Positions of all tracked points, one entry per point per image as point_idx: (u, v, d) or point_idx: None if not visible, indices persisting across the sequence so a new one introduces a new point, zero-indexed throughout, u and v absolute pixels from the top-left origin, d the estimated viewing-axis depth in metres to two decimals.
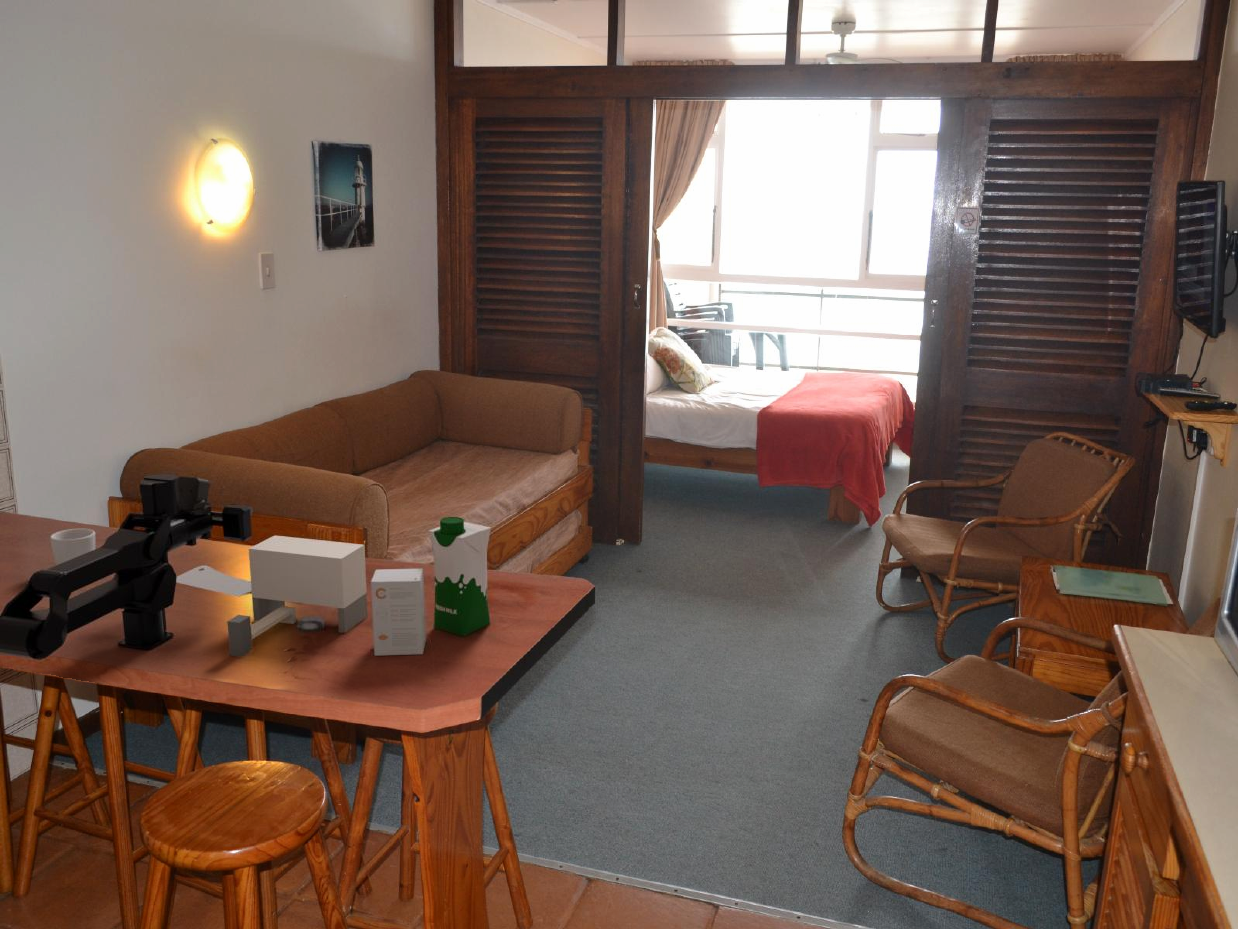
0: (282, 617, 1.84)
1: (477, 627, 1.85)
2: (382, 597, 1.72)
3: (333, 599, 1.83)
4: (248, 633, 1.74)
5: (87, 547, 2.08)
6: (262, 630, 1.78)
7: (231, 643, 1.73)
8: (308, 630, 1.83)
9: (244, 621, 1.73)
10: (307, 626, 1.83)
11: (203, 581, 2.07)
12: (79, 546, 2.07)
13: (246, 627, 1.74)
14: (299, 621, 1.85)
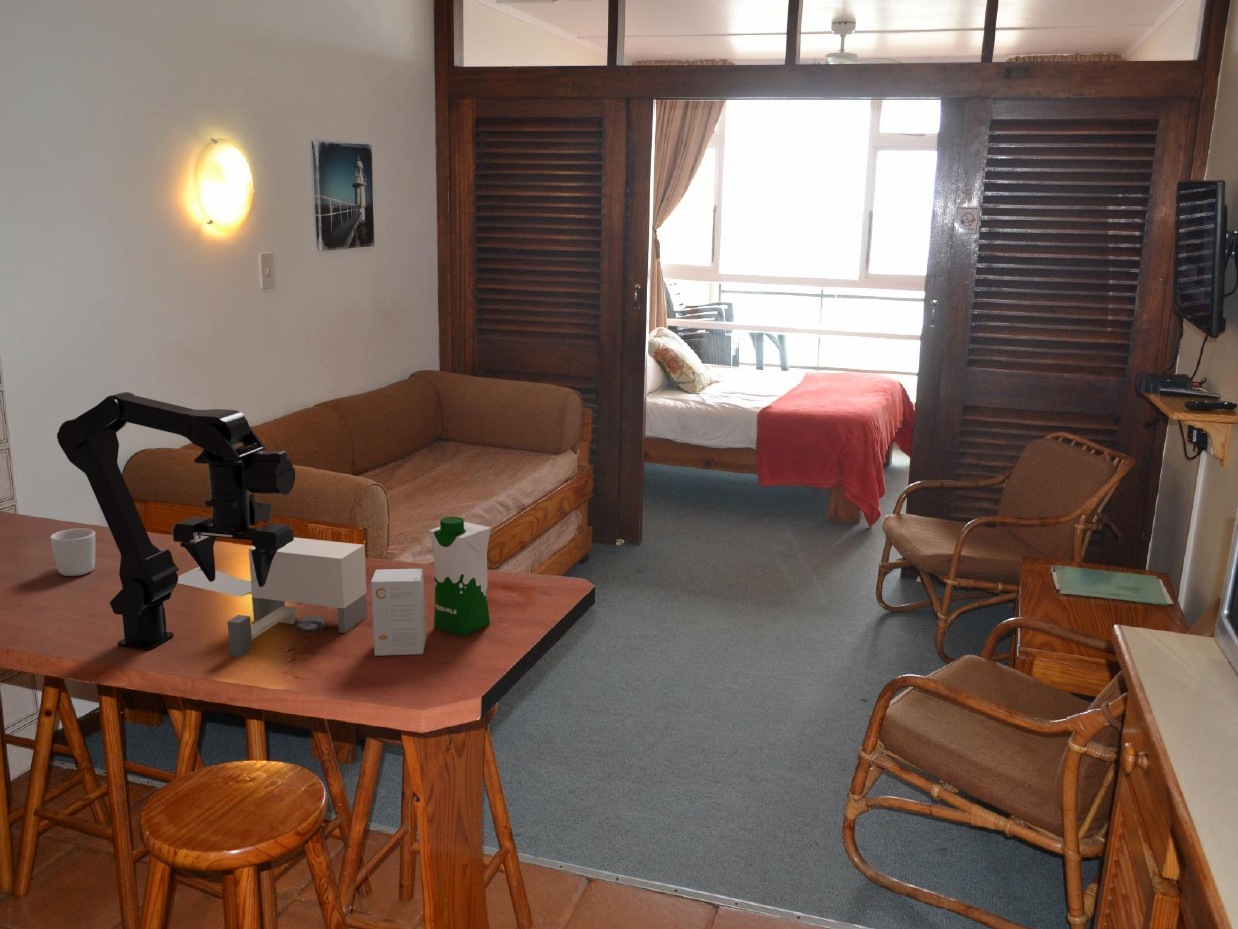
0: (282, 617, 1.84)
1: (477, 627, 1.85)
2: (382, 597, 1.72)
3: (333, 599, 1.83)
4: (248, 633, 1.74)
5: (87, 547, 2.08)
6: (262, 630, 1.78)
7: (231, 643, 1.73)
8: (308, 630, 1.83)
9: (244, 621, 1.73)
10: (307, 626, 1.83)
11: (203, 581, 2.07)
12: (79, 546, 2.07)
13: (246, 627, 1.74)
14: (299, 621, 1.85)
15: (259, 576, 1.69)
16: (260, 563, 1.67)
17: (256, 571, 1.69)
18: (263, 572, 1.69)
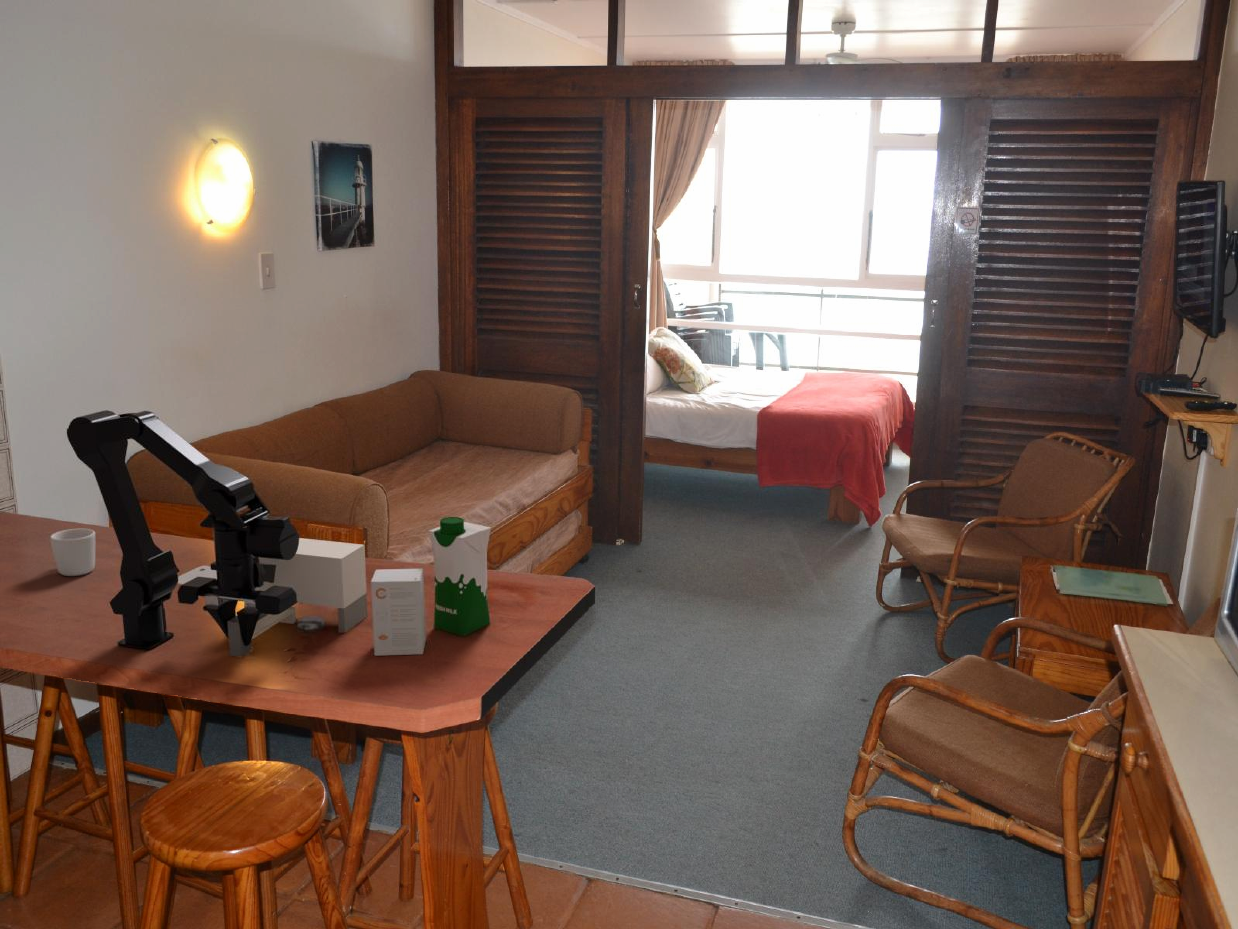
0: (282, 617, 1.84)
1: (477, 627, 1.85)
2: (382, 597, 1.72)
3: (333, 599, 1.83)
4: None
5: (87, 547, 2.08)
6: (262, 630, 1.78)
7: (231, 643, 1.73)
8: (308, 630, 1.83)
9: None
10: (307, 626, 1.83)
11: None
12: (79, 546, 2.07)
13: None
14: (299, 621, 1.85)
15: (244, 636, 1.72)
16: (245, 624, 1.70)
17: (241, 631, 1.72)
18: (248, 632, 1.72)
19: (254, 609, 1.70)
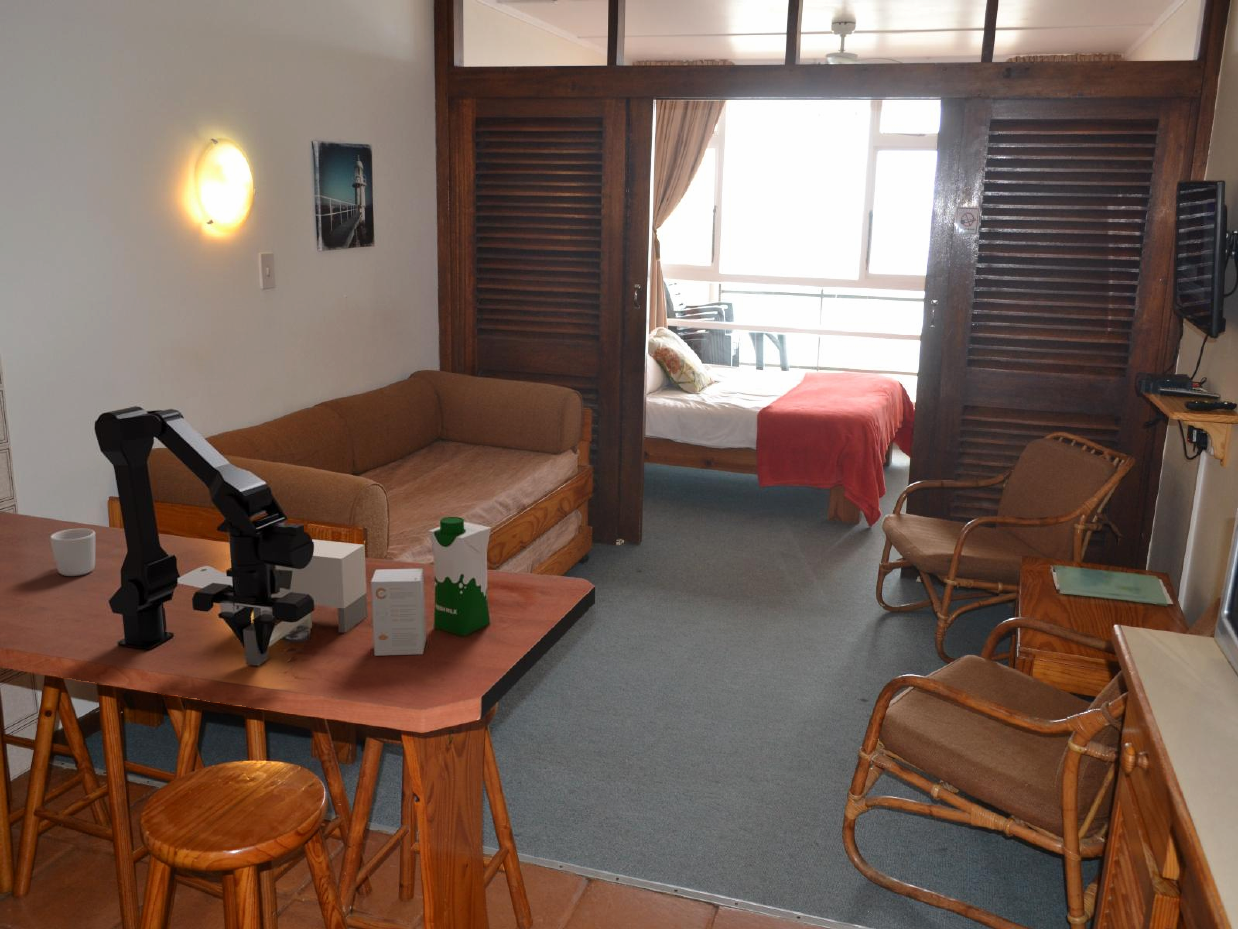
0: (298, 623, 1.79)
1: (477, 627, 1.85)
2: (382, 597, 1.72)
3: (333, 599, 1.83)
4: None
5: (87, 547, 2.08)
6: (278, 637, 1.74)
7: (247, 651, 1.69)
8: (294, 640, 1.79)
9: None
10: (293, 636, 1.79)
11: (206, 581, 2.06)
12: (79, 546, 2.07)
13: None
14: None
15: (260, 644, 1.68)
16: (262, 632, 1.66)
17: (257, 639, 1.68)
18: (265, 640, 1.68)
19: (271, 616, 1.66)
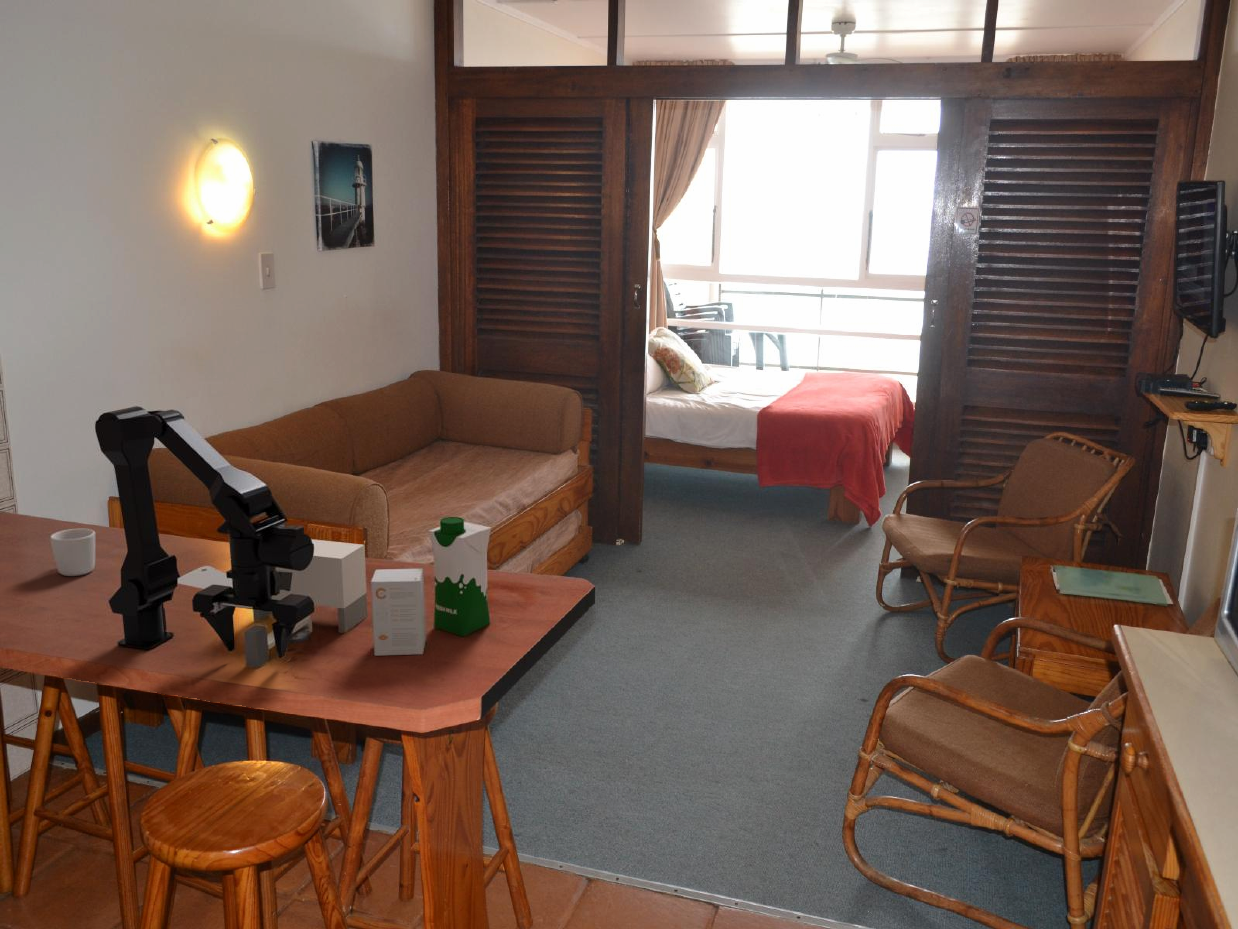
0: (299, 626, 1.80)
1: (477, 627, 1.85)
2: (382, 597, 1.72)
3: (333, 599, 1.83)
4: (265, 643, 1.70)
5: (87, 547, 2.08)
6: None
7: (247, 653, 1.69)
8: (294, 640, 1.79)
9: (261, 631, 1.69)
10: (293, 636, 1.79)
11: (207, 581, 2.06)
12: (79, 546, 2.07)
13: (262, 637, 1.70)
14: None
15: (279, 648, 1.67)
16: (280, 636, 1.66)
17: (276, 643, 1.67)
18: (283, 644, 1.68)
19: None
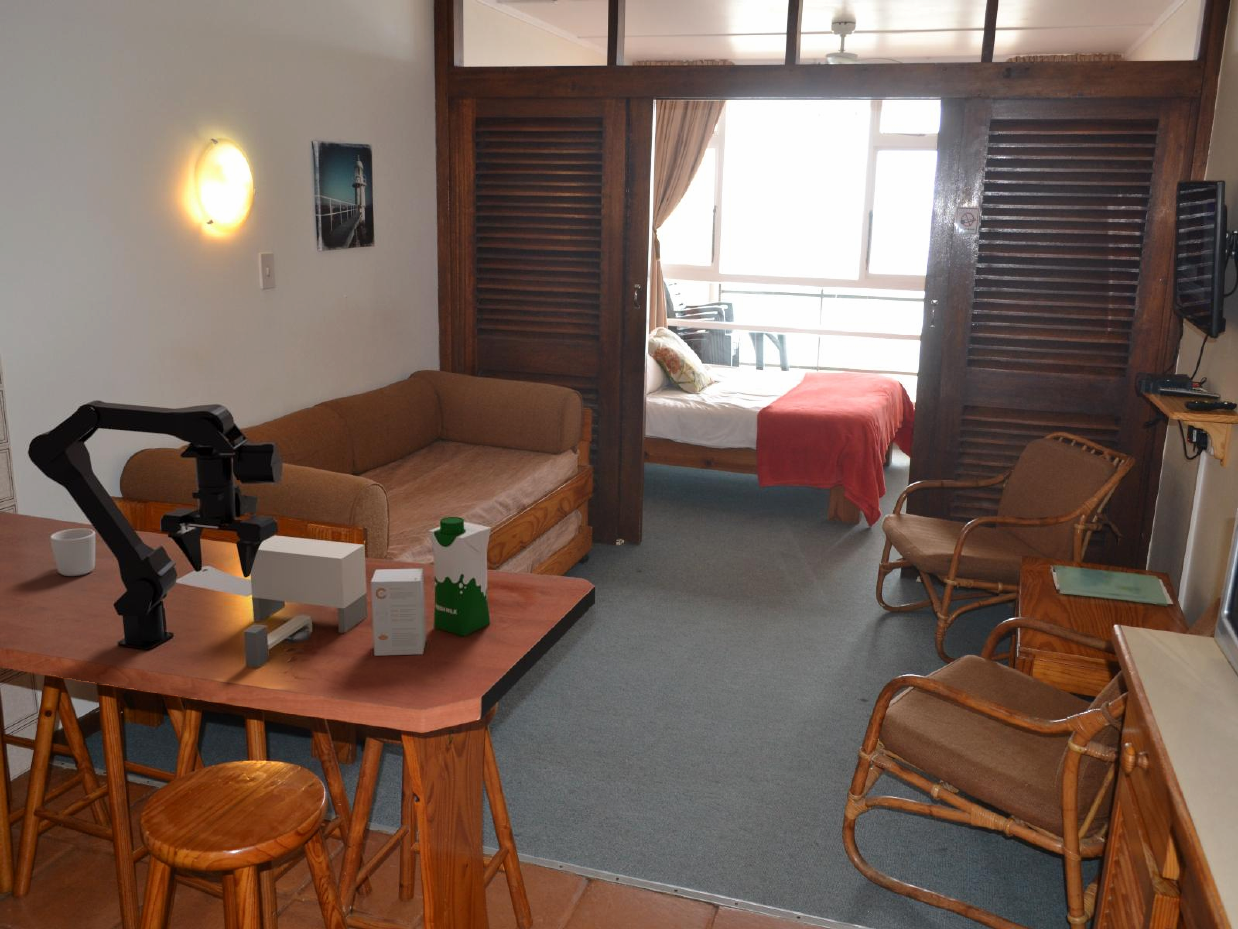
0: (299, 626, 1.80)
1: (477, 627, 1.85)
2: (382, 597, 1.72)
3: (333, 599, 1.83)
4: (265, 643, 1.70)
5: (87, 547, 2.08)
6: (279, 640, 1.74)
7: (247, 653, 1.69)
8: (294, 640, 1.79)
9: (261, 631, 1.69)
10: (293, 636, 1.79)
11: (208, 581, 2.06)
12: (79, 546, 2.07)
13: (262, 637, 1.70)
14: None
15: (244, 567, 1.73)
16: (245, 554, 1.72)
17: (241, 562, 1.73)
18: (248, 563, 1.74)
19: None
